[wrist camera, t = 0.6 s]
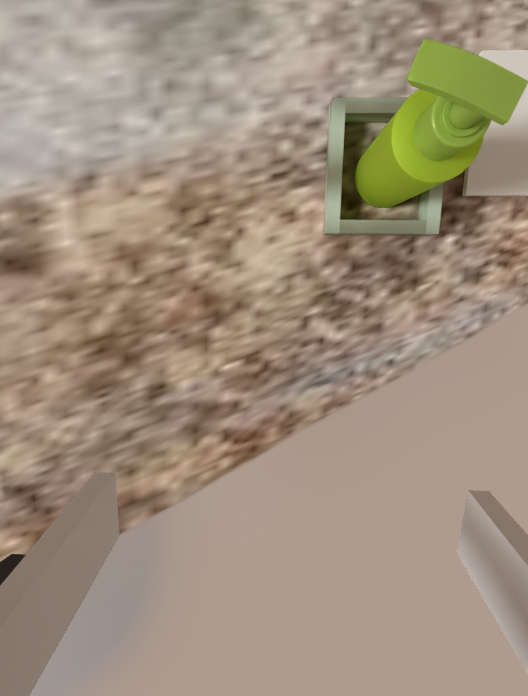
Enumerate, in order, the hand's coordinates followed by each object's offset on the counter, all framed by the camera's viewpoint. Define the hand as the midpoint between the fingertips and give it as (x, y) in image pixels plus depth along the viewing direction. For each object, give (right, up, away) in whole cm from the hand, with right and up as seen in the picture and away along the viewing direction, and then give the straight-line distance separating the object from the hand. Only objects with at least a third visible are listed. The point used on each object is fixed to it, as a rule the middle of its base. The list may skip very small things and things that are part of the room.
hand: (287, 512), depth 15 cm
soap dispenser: (+10, +23, +23) cm, 34 cm away
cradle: (+10, +23, +23) cm, 34 cm away
